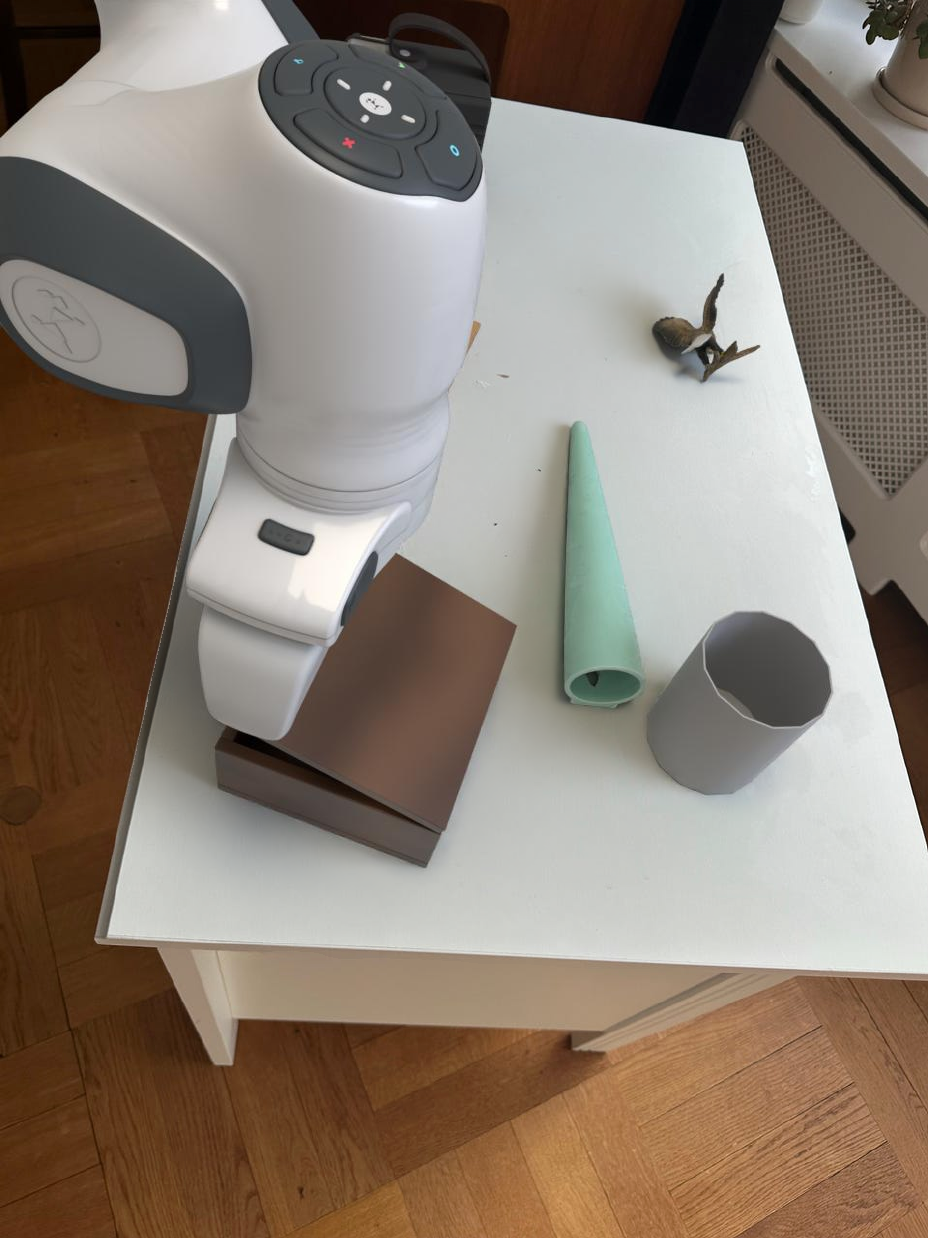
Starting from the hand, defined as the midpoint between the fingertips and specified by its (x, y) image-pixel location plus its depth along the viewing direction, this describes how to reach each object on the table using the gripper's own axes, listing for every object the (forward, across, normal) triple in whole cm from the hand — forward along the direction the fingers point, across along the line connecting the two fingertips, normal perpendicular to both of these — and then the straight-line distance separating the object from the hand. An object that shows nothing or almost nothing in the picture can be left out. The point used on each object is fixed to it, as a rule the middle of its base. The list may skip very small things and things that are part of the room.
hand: (322, 625), depth 53 cm
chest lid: (+2, 0, +3) cm, 4 cm away
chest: (+10, 0, +4) cm, 11 cm away
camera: (+10, -60, -16) cm, 62 cm away
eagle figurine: (+10, -48, +18) cm, 53 cm away
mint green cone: (+10, -20, +14) cm, 27 cm away
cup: (+10, -8, +26) cm, 29 cm away
